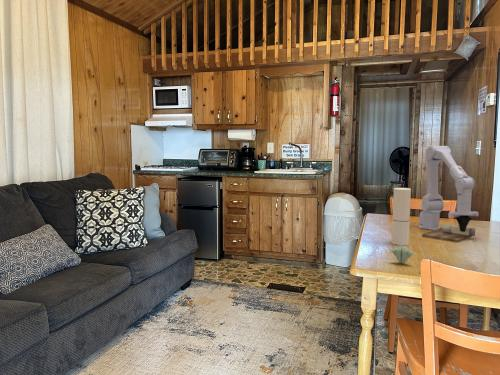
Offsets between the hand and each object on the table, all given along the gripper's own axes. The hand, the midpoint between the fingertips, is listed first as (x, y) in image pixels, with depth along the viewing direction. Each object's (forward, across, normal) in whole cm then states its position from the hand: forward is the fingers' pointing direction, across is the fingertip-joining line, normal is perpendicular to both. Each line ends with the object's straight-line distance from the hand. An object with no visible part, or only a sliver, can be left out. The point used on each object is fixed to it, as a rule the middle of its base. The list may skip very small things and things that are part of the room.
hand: (462, 231), depth 181 cm
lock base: (+3, -2, +6) cm, 8 cm away
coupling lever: (+2, +1, +3) cm, 4 cm away
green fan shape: (+4, -50, -29) cm, 58 cm away
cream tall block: (+4, -33, -2) cm, 34 cm away
